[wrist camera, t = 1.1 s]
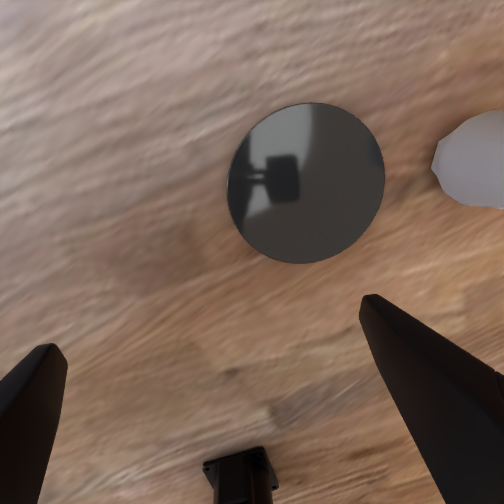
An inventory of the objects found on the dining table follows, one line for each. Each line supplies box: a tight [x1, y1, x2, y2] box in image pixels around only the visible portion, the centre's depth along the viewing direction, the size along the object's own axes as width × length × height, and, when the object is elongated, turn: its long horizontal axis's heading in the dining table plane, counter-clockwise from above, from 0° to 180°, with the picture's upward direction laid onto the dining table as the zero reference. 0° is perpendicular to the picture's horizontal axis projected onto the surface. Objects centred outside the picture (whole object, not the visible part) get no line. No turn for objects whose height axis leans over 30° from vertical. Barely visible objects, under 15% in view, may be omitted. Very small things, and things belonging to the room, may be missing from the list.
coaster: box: [227, 103, 385, 264], centre depth 22 cm, size 11×11×1 cm
